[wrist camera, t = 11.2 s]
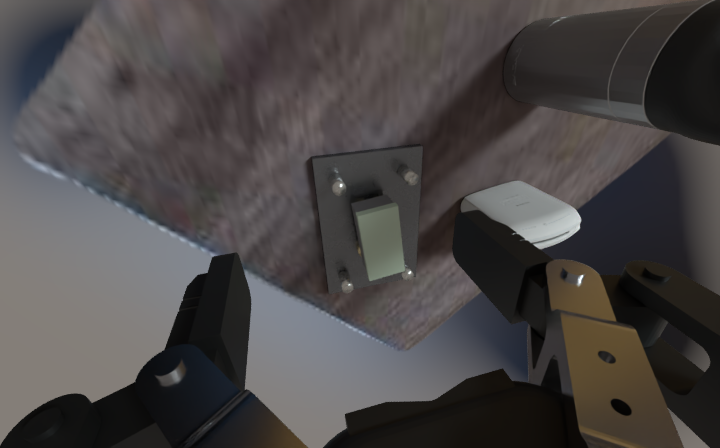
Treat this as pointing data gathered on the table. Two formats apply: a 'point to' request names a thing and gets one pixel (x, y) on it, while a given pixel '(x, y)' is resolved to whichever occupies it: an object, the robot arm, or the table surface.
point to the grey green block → (379, 236)
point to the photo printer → (526, 212)
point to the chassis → (357, 183)
